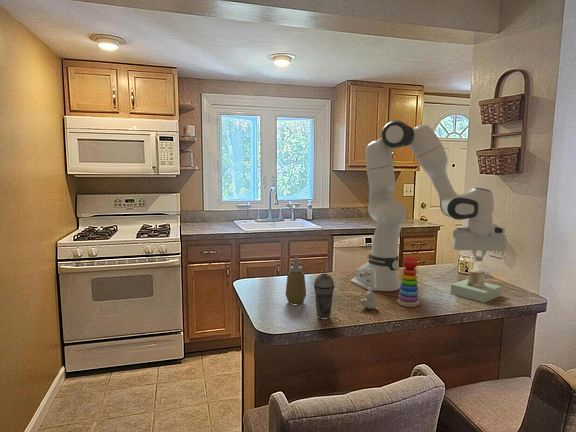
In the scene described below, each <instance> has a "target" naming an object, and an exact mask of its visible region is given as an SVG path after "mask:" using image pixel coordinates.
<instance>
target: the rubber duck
mask: <svg viewBox="0 0 576 432" xmlns="http://www.w3.org/2000/svg"><path fill="white" fill-rule="evenodd" d="M375 298H376V294H374V292H373V291H372V289H371V290H367V292H366V293H365V298H361V299H360V306H361V307H364V308H365V309H368V310H374V309H376V308H377V306H378V301H377V300H376V299H375Z"/></svg>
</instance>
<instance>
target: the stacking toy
mask: <svg viewBox="0 0 576 432" xmlns="http://www.w3.org/2000/svg"><path fill="white" fill-rule="evenodd" d="M403 266H404V268H403V270H402V272H403V273H402V274H401V280H400V289H399V293H398V294H397V297H398V299H397V304H398V305H400V306H402V307H405V308H415V307H417V306H419V304H420V301H419V291H418V288H419V286H418V282H419V281H418V280H417V279H418V277H417V273H418V271H417V269H416V268H417V266H418V260H417V258H415V257H414V256H406V257H405V258H404V260H403Z"/></svg>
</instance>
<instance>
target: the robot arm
mask: <svg viewBox="0 0 576 432" xmlns="http://www.w3.org/2000/svg"><path fill="white" fill-rule="evenodd" d="M380 135H381V136H380V138H379V139H378V140H374V141H371V142H370V143H368V144H367V145H366V147H365V165H366V174H367V179H368V187H369V188H368V189H369V191H368V193H369V194H368V206H367V211H368V214H369V216H370V217H371V218H372V219H373V220H374V221H375V222H376V226H375V231H374V234H373V235H372V237H371V238H372V239H371V253H370V254H369V255H368V254H367V255H366V259H368V261H367V262H366V263H364V264H363V265H361V266H360V267H358V268H357V270H356V274H355V277H352V278H351V279H350V283H352V284H354V285H357V286H358V287H361V288H363V289H366V290H367V291H369V290H371V289H372V292H373V291H374V292H375V291H379V292H394V291H398V290H400V289H401V287H400V285H401V283H400V279H399V270H398V269H399V261H400V257H399V239H400V235H401V229H402V227H403V223H404V222H405V221H406V219H407V216H408V215H407V214H408V213H407V210H406V208H405V206H404V205H403V204H402V203H401V202H400V201H398V200H395V199H394V190H395V185H396V177H395V170H394V162H393V151H394V150H395V149H397V148H401V147H409V148H410V150H411V151H412V153H413V154H414V157H415V159H416V161H417V162H418V164H419V165H420V167H421V168H422V170H423V171H424V172H425V173H426V175H427V176H428V178H429V179H430V180H431V182H432V184H433V186H434V188H435V190H436V192H437V195H438V196H439V197H438V198H439V205H440V206H439V208H440V210H441V213H442V214H443V215H444V216H446V217H448V218H451V219H454V220H457V221H461V220H466V219H467V220H468V224H467V227H459V226H458V227H456V228H454V229H453V230H452V237H453V238H452V249H454V250H456V251H470V252H471V254H472V255H473V261H474V262H483V261H484V260H483V259H484V257H485V255H487V252H505V251H507V247H508V246H507V245H508V241H507V240H508V239H507V236H506V235H505V233H506V228H504V227H503V226H500V225H497V224H494V222H493V212H494V205H495V204H494V202H495V201H494V200H495V199H494V194H493V191H491V190H490V189H487V188H481V187H473V188H471V189H470V190H468V191H466V192H464V193H461V194H458V193H457V192H456V191H455V190H454V188H453V186H452V184H451V182H450V180H449V178H448V175H447V169H446V168H447V165H448V156H447V153H446V149H445V148H444V145H443V144H442V142H441V140H440V139H439V137H438V136H437V134H436V132H435V131H434V130H433V129H432V128H431V126H429V125H427V124H420V125H417V126H415V127H411V126H410V125H408V124H407V123H405V122H404V121H403V120H398V119H394V120H391V121H389V122H387V123H386V124H385V125H384V126H383V127H382V130H381V133H380ZM478 251H480V253H481V254H480V255H476V254H477V252H478Z"/></svg>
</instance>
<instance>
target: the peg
mask: <svg viewBox="0 0 576 432" xmlns="http://www.w3.org/2000/svg"><path fill="white" fill-rule="evenodd" d="M485 274H486V271H483V270H479V269H471V270H468V274H467V275H468V276H467V279H468V286H471V287H475V288H479V289H480V288H482V287H484V282H485V279H486V278H485V277H486V275H485Z"/></svg>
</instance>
